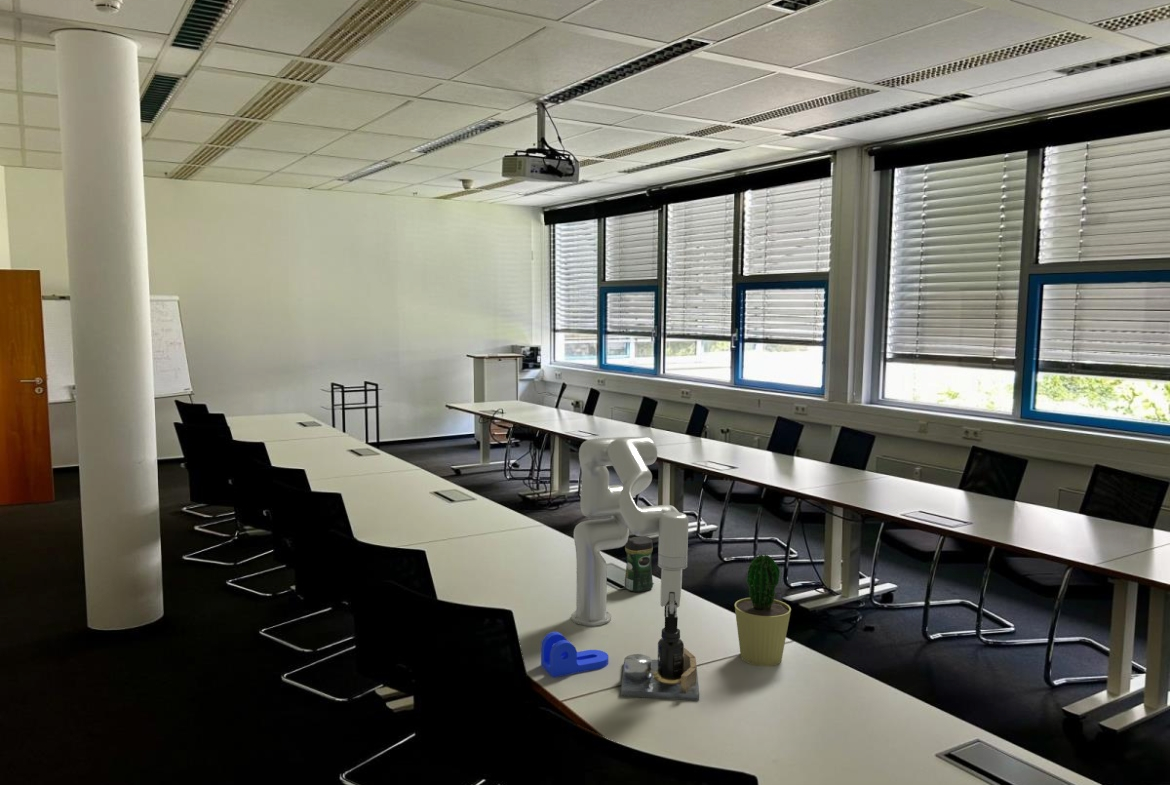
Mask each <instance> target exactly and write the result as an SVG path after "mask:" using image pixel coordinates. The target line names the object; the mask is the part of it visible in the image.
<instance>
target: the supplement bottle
mask: <svg viewBox="0 0 1170 785" xmlns="http://www.w3.org/2000/svg"><path fill="white" fill-rule="evenodd" d="M660 636H661V638H660V639H659V640H658V641H657V660H658V674H659V676H660V677H662V678H665V679H678V678H681V675H682V674H683V673H684V648H685V645H684V641H683V640H682V639H681V630H680V629H679V628H678V627H677V632H665V627H662V629H661V635H660Z"/></svg>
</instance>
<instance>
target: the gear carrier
mask: <svg viewBox="0 0 1170 785" xmlns="http://www.w3.org/2000/svg"><path fill="white" fill-rule="evenodd" d="M697 668H698V667H697V659H696V656H695V655H694V654H692V652H690V651H689V650H688V649H686V647H684V673H683V674H682V675H681V678H678V679H665V678H662V677H660V676H659V674H658V659H652V657H650V656H649V655H646V654H642V653H640V654H639V653H635V654H634V653H633V654H630V655H627V656H626V657H624V662H623V670H622V678H621V689H620V696H621V697H627V698H629V697H634V698H652V699H666V700H667V699H668V700H671V699H672V700H686V701H687V700H691V701H692V700H693V701H700V688H699V676H698V669H697Z"/></svg>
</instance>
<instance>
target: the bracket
mask: <svg viewBox="0 0 1170 785" xmlns="http://www.w3.org/2000/svg"><path fill="white" fill-rule="evenodd" d="M608 665H609V654H608V653H607V652H605V651H602V650H600V649H599V650H598V649H588V650H587V649H586V650H580V651H577V648H576V647H575V645H574V644H573V643H572V642H570V641H568V640H567V638H566V637H565V636H564V635H563V634H562V633H560V632H558V631H551V632H549V633H547V634H546V635H545V636H544V637H543V639H542V641H541V645H540V666H541V667H542V668H543V669H544V670H545V671H546V672H547V673H548V674H549V675H550V676H551V677H552V678H557V677H561V676H567V675H568V676H569V675H573V674H578V673H582V672H583V673H584V672H588V671H589V672H590V671H593V670H601V669H602V668H605V667H607V666H608Z"/></svg>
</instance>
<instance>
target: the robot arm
mask: <svg viewBox="0 0 1170 785" xmlns="http://www.w3.org/2000/svg"><path fill="white" fill-rule="evenodd" d="M657 458H658V449H657V446H656V444H655V442H654V440H653V439H651V438H650V437H648V436H621V437H620V436H618V437H601V438H600V437H599V438H591V439H587V440H585V441H583V442H582V443H581V444H580V447H579V450H578V459H579V465H580V470H581V487H580V488H581V489H580V511H581V514H582V515H583V516H584V517H586V518H593V519H589V520H588V519H587V520H583V521H581V522H579V523H578V524H576V525H575V527H574V529H573V540H574V547H575V558H576V594H575V595H576V598H575V599H576V602H575V603H576V604H575V605H576V608H575V609H576V610H575V611H573V612H572V613H571V614H570V615H571V618H570V619H571V621H572V622H573V623H576V624H578V625H582V626H587V627H588V626H590V627H594V626H595V627H596V626H597V627H598V626H602V625H605V624H608V623H610V621H612V614H611V613H610V612H609V611H607V584H608V581H607V579H608V576H607V574H608V571H607V570H608V566H607V562H606V560H605V558H604V557H603V555H601V552H600V551H604V550H605V551H606V550H613V549H619V548H623V547H625V544H626V543H627V541H628V538H629V536H630V533H632V535H635V536H636V537H641V536H647V537H648V536H652V535H658V548H657V550H658V552H657V554H658V556H657V566H658V567H659V568H660V569H661V570H660V571H661V572H660V607H662V608H663V607H664V628H665V632H677V628H678V608H680V605H681V596H682V585H683V584H682V583H683V570H685V569H687V568H688V550H689V549H688V548H689V547H688V546H689V545H688V544H689V542H688V541H689V516H687V514H686V513H683V512H680V511H679V510H678V509H677V508H676V507H675V506H673V505H670V504H661V505H649V506H638V505H637V504H636V502H635V501H634V497H635V496H637V495H639V494H640V493H642V492H643V491H645V490H646V489H647V488H648V487H649V486H650V484H652V480H653V474H652V472H651V470H650V469H649V467H648V466H650V465H653V464H654V463H655V462H656V461H657ZM607 467H613V469H614V471H615V473H616V475H617V477H618V478H619V480H620V482H621V485H620V484H612V485H610V471H609V470H608V468H607ZM606 517H608V518H606ZM594 518H597V519H594ZM598 518H599V519H598Z"/></svg>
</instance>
